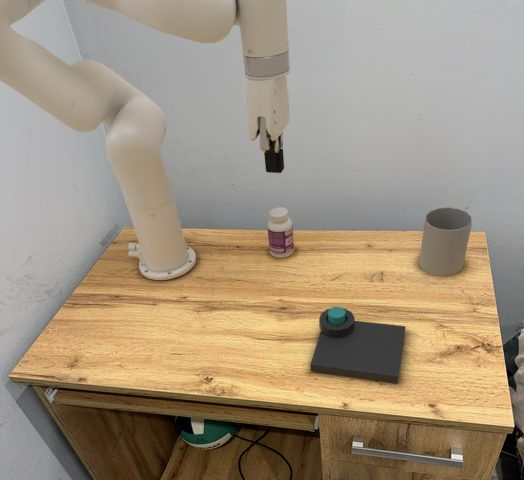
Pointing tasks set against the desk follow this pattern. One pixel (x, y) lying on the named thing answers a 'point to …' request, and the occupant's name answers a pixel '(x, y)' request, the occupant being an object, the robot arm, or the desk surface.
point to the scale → (359, 349)
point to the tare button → (336, 315)
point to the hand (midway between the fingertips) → (275, 170)
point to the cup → (445, 241)
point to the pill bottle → (280, 233)
